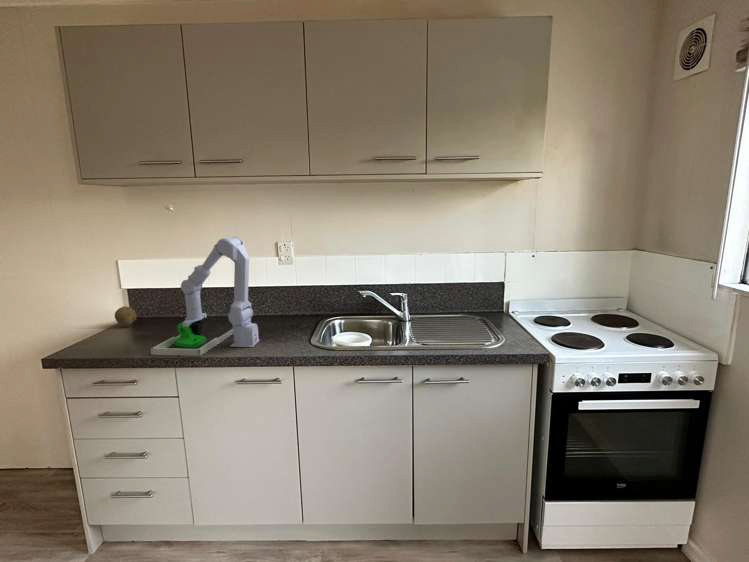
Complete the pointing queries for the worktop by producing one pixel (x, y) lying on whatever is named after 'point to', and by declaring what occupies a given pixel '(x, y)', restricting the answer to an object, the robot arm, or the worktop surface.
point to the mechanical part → (188, 338)
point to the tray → (163, 349)
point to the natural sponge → (125, 316)
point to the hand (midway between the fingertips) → (197, 338)
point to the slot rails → (220, 336)
